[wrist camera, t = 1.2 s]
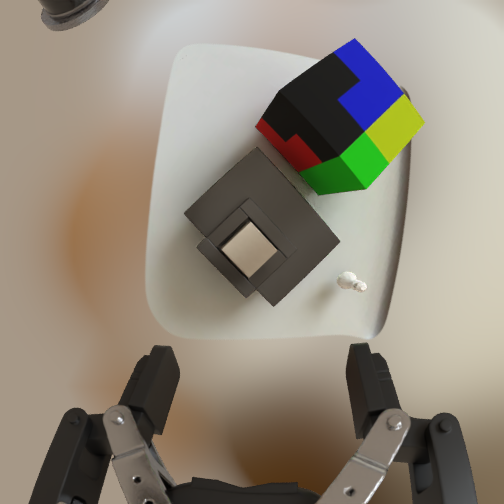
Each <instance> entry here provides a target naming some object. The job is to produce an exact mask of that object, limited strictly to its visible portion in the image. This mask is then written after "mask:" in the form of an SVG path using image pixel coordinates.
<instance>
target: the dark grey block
mask: <svg viewBox="0 0 504 504" xmlns="http://www.w3.org/2000/svg"><path fill="white" fill-rule="evenodd" d="M184 215H185V216H186V217H187V218H188V219H189V220H190V221H191V222H192V223H193V224H194V225H195V226H196V227H197V228H198V229H199V231H200V232H201V233H202V234H203V235H204V236H205V237H206V238H205V239H204V240H203V241H202V242H201V243H200V244H199V245H198V246H197V249H198V250H199V251H200V252H201V253H202V254H203V255H204V256H205V257H206V258H207V259H208V260H209V261H210V262H211V263H212V264H213V265H214V266H215V267H216V268H217V269H218V270H219V271H220V272H221V273H222V274H223V275H224V276H225V277H226V278H227V279H228V280H229V281H230V282H231V284H232V285H233V286H234V287H235V288H236V289H237V290H238V291H239V292H240V293H241V294H242V295H243V296H244V297H245V298H247V297H248V296H249V295H250V294H251V293H253V292H254V291H255V290H257V291H258V292H259V293H260V294H261V295H262V296H263V297H264V298H265V299H266V300H267V301H268V302H269V303H270V304H271V305H272V306H273V307H274V306H275V305H276V304H277V303H278V302H279V301H281V300H282V299H283V298H284V297H285V296H286V295H287V294H288V293H289V292H290V291H291V290H292V289H293V288H294V287H295V286H296V285H297V284H298V283H299V282H300V281H301V280H302V279H303V278H305V277H306V276H307V275H308V274H309V273H310V272H311V271H312V270H313V269H314V268H315V267H316V266H317V265H318V264H319V263H320V262H321V261H322V260H323V259H324V258H325V257H326V256H327V255H328V254H329V253H330V252H331V251H332V250H333V249H334V248H335V247H336V246H337V245H338V244H339V243H340V240H339V239H338V238H337V237H336V235H335V234H334V233H333V232H332V231H331V229H330V228H329V227H328V226H327V225H326V223H325V222H324V221H323V220H322V219H321V217H320V216H319V215H318V214H317V213H316V212H315V210H314V209H313V208H312V207H311V206H310V205H309V203H308V202H307V201H306V200H305V199H304V198H303V197H302V195H301V194H300V193H299V192H298V191H297V190H296V189H295V187H294V186H293V185H292V184H291V183H290V182H289V181H288V180H287V179H286V177H285V176H284V175H283V174H282V173H281V172H280V171H279V170H278V169H277V168H276V167H275V165H274V164H273V163H272V162H271V161H270V160H269V159H268V158H267V157H266V156H265V155H264V154H263V153H262V152H261V150H260V149H259V148H258V147H256V148H255V149H253V150H252V151H251V152H250V153H249V154H248V155H246V156H245V157H244V158H243V159H242V160H241V161H240V162H239V163H237V164H236V165H235V166H234V167H233V168H232V169H231V170H229V171H228V172H227V173H226V174H225V175H224V176H223V177H222V178H221V179H220V180H218V181H217V182H216V183H215V184H214V185H213V186H212V187H211V188H210V189H209V190H208V191H207V192H205V193H204V194H203V195H202V196H201V197H200V198H199V199H198V200H197V201H196V202H195V203H194V204H193V205H192V206H191V207H190V208H189V209H188V210H186V211H185V212H184ZM247 222H252V223H253V225H254V226H255V227H256V228H257V229H258V230H259V231H260V232H261V233H262V234H263V235H264V236H265V237H266V239H267V240H268V241H269V242H270V243H271V244H272V245H273V246H274V247H275V248H276V249H277V252H276V253H275V254H274V255H273V256H272V257H271V258H269V259H268V260H267V261H266V262H265V263H264V264H263V265H262V266H261V267H260V268H259V269H258V270H257V271H256V272H255V273H254V274H253V275H252V276H251V277H249V278H248V277H247V276H246V275H245V274H244V273H243V272H242V271H241V270H240V268H239V267H238V266H237V265H236V264H235V263H234V262H233V261H232V260H231V259H230V258H229V257H228V256H227V255H226V254H225V253H224V252H223V251H222V249H221V247H222V246H223V245H224V244H225V243H226V242H227V241H228V240H229V239H230V238H231V237H232V236H233V235H235V234H236V233H237V232H238V231H239V230H240V229H241V228H242V227H243V226H244V225H245V224H246V223H247Z"/></svg>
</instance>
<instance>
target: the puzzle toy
mask: <svg viewBox="0 0 504 504" xmlns="http://www.w3.org/2000/svg"><path fill="white" fill-rule="evenodd" d="M424 123H425V122H424V120H423V119H422V117H421V116H420V115H419V113H418V112H417V110H416V109H415V108H414V106H413V105H412V104H411V102H410V101H409V100H408V98H407V97H406V96H405V94H404V93H403V92H402V91H401V89H400V88H399V87H398V86H397V84H396V83H395V82H394V81H393V80H392V78H391V77H390V76H389V75H388V74H387V72H386V71H385V70H384V69H383V68H382V67H381V66H380V65H379V63H378V62H377V61H376V60H375V59H374V58H373V57H372V56H371V55H370V54H369V53H368V52H367V50H366V49H365V48H363V46H362V45H361V44H360V43H359V42H358V41H357V40H356V39H355V38H354V39H353V40H351V41H350V42H348V43H346V44H345V45H343V46H342V47H340V48H339V49H337V50H336V51H334V52H333V53H331V54H329V55H328V56H326V57H325V58H324V59H322V60H321V61H319V62H318V63H316V64H315V65H313V66H312V67H311V68H309V69H308V70H306V71H305V72H303V73H302V74H301V75H299V76H298V77H297V78H295V79H294V80H292V81H291V82H290V83H288V84H287V85H286V86H284V87H283V88H282V89H280V90H279V91H278V93H277V94H276V96H275V97H274V99H273V100H272V102H271V103H270V105H269V106H268V108H267V109H266V111H265V112H264V114H263V116H262V117H261V119H260V120H259V122H258V123H257V125H256V126H255V127H256V128H257V129H258V130H259V131H260V132H261V133H262V134H263V135H264V136H265V137H266V138H267V140H268V141H269V142H270V143H271V144H272V145H273V146H274V147H275V148H276V149H277V150H278V151H279V152H280V153H281V154H282V155H283V156H284V157H285V159H286V160H287V161H288V162H289V163H290V164H291V165H292V166H293V167H294V168H295V169H296V171H297V172H298V173H299V174H300V175H301V176H302V177H303V178H304V179H305V181H306V182H307V183H308V184H309V185H310V186H311V187H312V189H313V190H314V191H315V192H316V193H317V194H318V195H325V194H333V193H340V192H348V191H356V190H364V189H367V188H368V187H369V186H370V185H371V183H372V182H373V181H374V180H375V179H376V178H377V177H378V176H379V175H380V174H381V172H382V171H383V170H384V169H385V168H386V167H387V166H388V165H389V164H390V162H391V161H392V160H393V159H394V158H395V157H396V156H397V155H398V153H399V152H400V151H401V150H402V149H403V148H404V147H405V145H406V144H407V143H408V142H409V141H410V140H411V139H412V137H413V136H414V135H415V134H416V133H417V132H418V130H419V129H420V128H421V127H422V126H423V125H424Z"/></svg>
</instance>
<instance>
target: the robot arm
mask: <svg viewBox="0 0 504 504" xmlns="http://www.w3.org/2000/svg"><path fill="white" fill-rule="evenodd" d="M38 1H39V2H40V3H41V5H42V6H43V8H44V9H45V10H46V13H47V14H48V15H49V16H50V17H51V18H53V19H60V18H65V17H68V16H70V15H73V14H75V13H77V12H78V11H80V10H82V9H83V8H85V7H86V6H87V5H89V4H90V3H91V2H92V1H93V0H38ZM179 378H180V369H179V366H178V363H177V360H176V358H175V355H174V352H173V350H172V348H171V346H160V345H155V346H154V347H153V348H152V351H151V353H150V355H144V356H143V357H142V358H141V359H140V360H139V361H138V362H137V364H136V366H135V368H134V372H133V373H132V375H131V377H130V380H129V381H128V383H127V386H126V388H125V390H124V392H123V394H122V397H121V399H120V401H119V403H118V405H115V406H112V407H110V408H109V409H108V410H107V411H106V412H105V413H104V414H92V415H88V414H87V413H86V412H85V411H84V410H83V409H81V408H72V409H70V410H68V411H67V412H66V413H65V414H64V416H63V418H62V420H61V422H60V425H59V427H58V429H57V431H56V434H55V436H54V439H53V441H52V443H51V445H50V448H49V450H48V453H47V455H46V458H45V460H44V463H43V465H42V468H41V471H40V473H39V476H38V478H37V481H36V484H35V487H34V489H33V493H32V496H31V499H30V501H29V504H98V501H99V498H100V494H101V490H102V487H103V483H104V480H105V476H106V473H107V469H108V466H109V462H110V459H111V456H112V454H113V455H114V458H112V464H113V467H114V470H115V473H116V475H117V477H118V481H119V483H120V485H121V488H122V490H123V493H124V495H125V498H126V500H127V502H128V504H367V503H368V501H369V500H370V498H371V497H372V495H373V494H374V492H375V491H376V489H377V488H378V486H379V485H380V483H381V482H382V480H383V478H384V477H385V475H386V473H387V471H388V468H389V466H390V464H391V462H392V461H394V462H405V463H408V465H409V473H410V480H411V490H412V500H413V504H478V503H477V497H476V491H475V486H474V481H473V476H472V471H471V467H470V462H469V458H468V454H467V450H466V446H465V442H464V439H463V435H462V431H461V428H460V425H459V422H458V420H457V418H456V417H455V416H453V415H452V414H449V413H440V414H437V415H436V416H434V417H433V418H432V420H430V419H417V418H413V417H410V416H408V414H407V413H405V412H404V411H403V410H402V409H401V407H400V404H399V400H398V397H397V394H396V390H395V387H394V384H393V381H392V379H391V374H390V372H389V368H388V365H387V362H386V360H385V359H384V358H383V357H382V356H381V355H380V354H379V353H374V354H371V352H370V348H369V345H368V343H357V344H351V345H350V349H349V354H348V359H347V365H346V380H347V386H348V391H349V396H350V402H351V408H352V414H353V421H354V426H355V433H356V439H360V438H363V439H364V441H363V442H362V444H361V446H360V447H359V449H358V450H357V451H356V453H355V454H354V455H353V456H352V457H351V459H350V460H349V461H348V463H347V464H346V465H345V467H344V468H343V470H342V471H341V472H340V473H339V475H338V476H337V478H336V479H335V480H334V481H333V483H332V484H331V485H330V486H329V488H328V489H327V490H326V491H325V493H324V494H323V495H322V496H320V495H319V494H317V493H315V492H313V491H311V490H308V489H304V488H299V487H298V483H297V482H293V483H268V484H263V485H257V486H252V487H247V488H246V487H245V488H242V487H238V486H235V485H231V484H228V483H225V482H222V481H219V480H212V479H204V478H197V477H192V482H188V483H183V484H180V485H176V483H175V481H174V480H173V478H172V477H171V476H170V474H169V473H168V471H167V470H166V468H165V466H164V464H163V462H162V460H161V458H160V456H159V454H158V452H157V450H156V447H155V445H154V443H153V441H152V437H153V434H158V435H162V433H163V429H164V426H165V423H166V420H167V416H168V413H169V410H170V407H171V404H172V401H173V397H174V394H175V391H176V388H177V385H178V382H179Z"/></svg>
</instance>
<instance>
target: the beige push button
mask: <svg viewBox="0 0 504 504" xmlns="http://www.w3.org/2000/svg"><path fill="white" fill-rule="evenodd" d="M221 249H222V251H223V252H224V253H225V254H226V255H227V256H228V257H229V258H230V259H231V260H232V261H233V262H234V263H235V264H236V265H237V266H238V267H239V268H240V270H241V271H242V272H243V273H244V274H245V275H246V276H247V277H248V278H249V277H251V276H252V275H253V274H254V273H255V272H256V271H257V270H258V269H259V268H260V267H261V266H262V265H263V264H264V263H265V262H266V261H267V260H268V259H269V258H271V257H272V256H273V255H274V254H275V253H276V252H277V249H276V248H275V247H274V246H273V245H272V244H271V243H270V242H269V241H268V240H267V239H266V237H265V236H264V235H263V234H262V233H261V232H260V231H259V230H258V229H257V228H256V227H255V226H254V225H253V223H252V222H247V223H246V224H245V225H244V226H243V227H242V228H241V229H240V230H239V231H238V232H237V233H236V234H235V235H233V236H232V237H231V238H230V239H229V240H228V241H227V242H226V243H225V244H224V245H223V246H222V247H221Z"/></svg>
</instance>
